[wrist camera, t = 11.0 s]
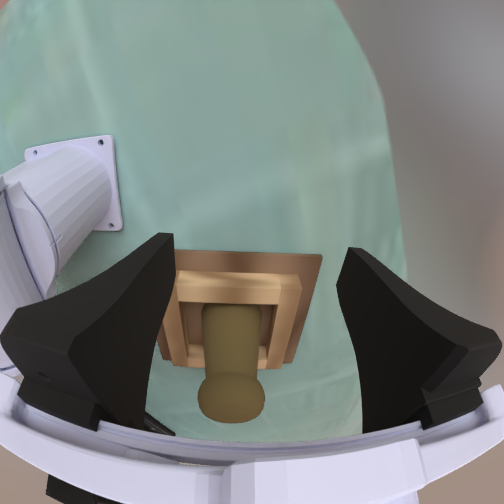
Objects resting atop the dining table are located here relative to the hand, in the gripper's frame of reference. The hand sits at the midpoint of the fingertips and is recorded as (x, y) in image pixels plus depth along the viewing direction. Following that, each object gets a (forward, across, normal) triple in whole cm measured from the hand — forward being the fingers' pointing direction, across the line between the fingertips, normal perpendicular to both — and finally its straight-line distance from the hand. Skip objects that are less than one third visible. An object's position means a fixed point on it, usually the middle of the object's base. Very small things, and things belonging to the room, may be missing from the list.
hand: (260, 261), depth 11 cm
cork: (+10, +1, +14) cm, 17 cm away
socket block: (+10, +1, +14) cm, 18 cm away
